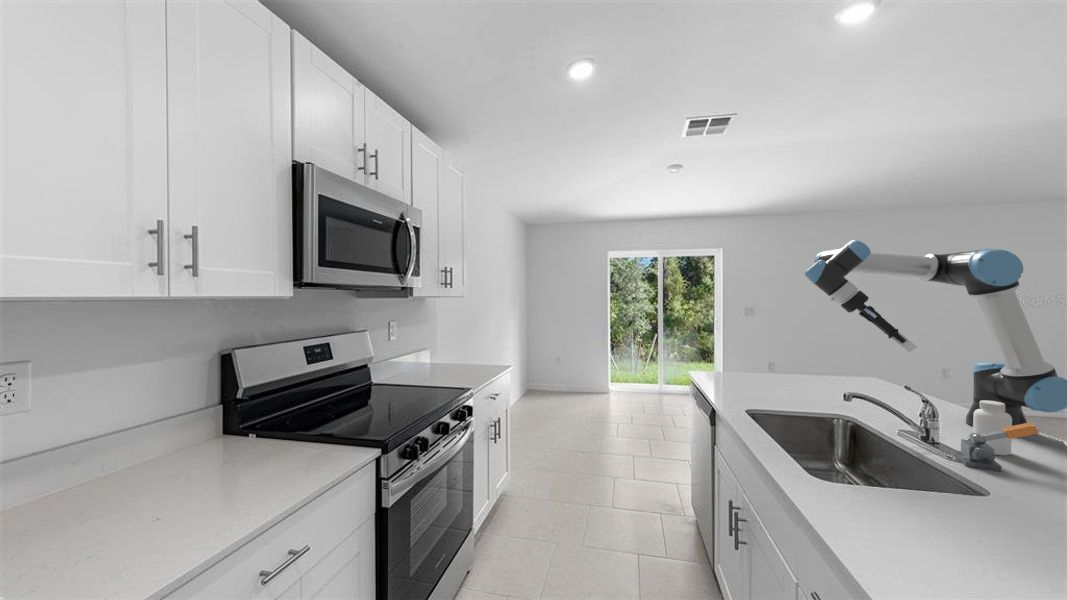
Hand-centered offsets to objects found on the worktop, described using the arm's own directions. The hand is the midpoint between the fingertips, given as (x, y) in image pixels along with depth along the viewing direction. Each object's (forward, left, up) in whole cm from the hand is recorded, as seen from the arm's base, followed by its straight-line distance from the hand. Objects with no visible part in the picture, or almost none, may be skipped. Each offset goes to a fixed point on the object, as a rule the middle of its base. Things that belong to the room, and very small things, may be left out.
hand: (912, 349), depth 136 cm
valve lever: (-10, +13, -24) cm, 29 cm away
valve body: (-12, +13, -30) cm, 35 cm away
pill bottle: (-19, -1, -30) cm, 36 cm away
